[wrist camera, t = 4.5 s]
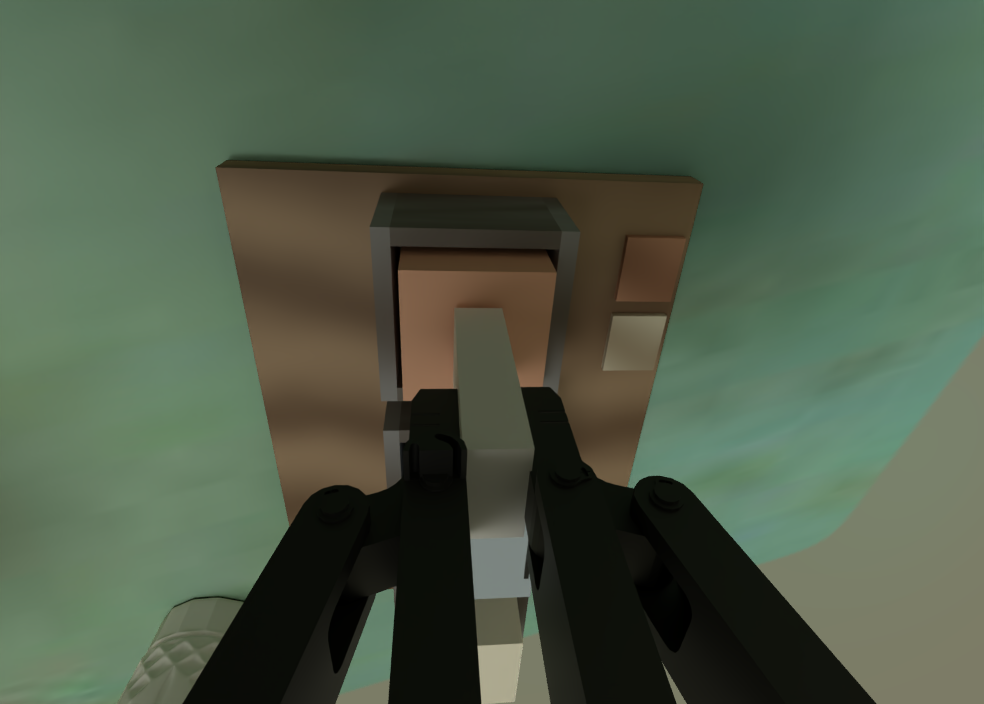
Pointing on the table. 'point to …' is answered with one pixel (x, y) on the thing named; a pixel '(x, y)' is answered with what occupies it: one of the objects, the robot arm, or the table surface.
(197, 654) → the white cup
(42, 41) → the table surface
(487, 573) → the slate key
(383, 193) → the board
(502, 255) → the terracotta key
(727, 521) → the table surface
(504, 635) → the cream key
